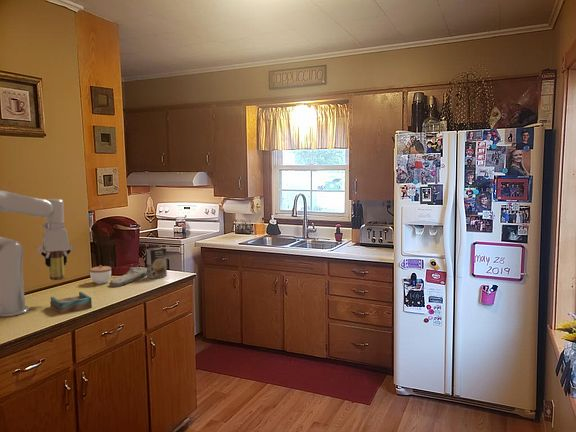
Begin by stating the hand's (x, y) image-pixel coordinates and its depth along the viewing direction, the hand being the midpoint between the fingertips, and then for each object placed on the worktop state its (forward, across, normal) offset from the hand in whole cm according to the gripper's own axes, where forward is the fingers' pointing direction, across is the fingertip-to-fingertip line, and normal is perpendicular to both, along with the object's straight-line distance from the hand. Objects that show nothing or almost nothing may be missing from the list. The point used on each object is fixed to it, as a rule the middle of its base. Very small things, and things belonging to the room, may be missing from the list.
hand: (56, 265), depth 212 cm
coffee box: (+16, +56, +14) cm, 60 cm away
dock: (+17, +2, -13) cm, 22 cm away
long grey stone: (+16, +43, +18) cm, 50 cm away
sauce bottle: (+7, 0, 0) cm, 7 cm away
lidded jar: (+16, +28, +22) cm, 39 cm away
